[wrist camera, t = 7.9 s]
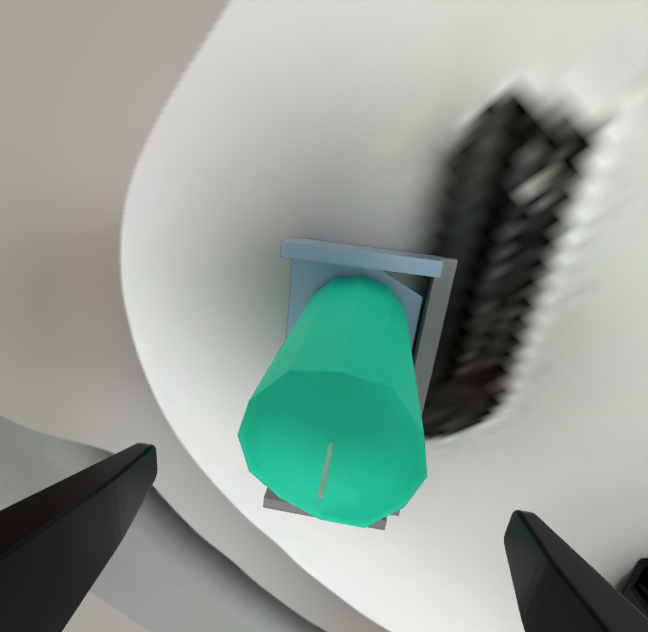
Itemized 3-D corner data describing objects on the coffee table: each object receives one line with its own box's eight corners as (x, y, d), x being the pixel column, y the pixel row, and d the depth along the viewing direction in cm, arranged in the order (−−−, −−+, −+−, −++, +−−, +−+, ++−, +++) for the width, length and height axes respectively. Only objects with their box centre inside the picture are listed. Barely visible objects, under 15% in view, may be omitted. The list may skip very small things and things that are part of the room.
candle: (422, 352, 20) (465, 558, 9) (329, 380, 22) (274, 581, 11) (386, 258, 19) (386, 374, 8) (288, 296, 20) (175, 435, 9)
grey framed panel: (452, 256, 19) (464, 264, 17) (397, 501, 25) (400, 533, 22) (291, 236, 20) (281, 241, 17) (273, 479, 25) (263, 507, 23)
